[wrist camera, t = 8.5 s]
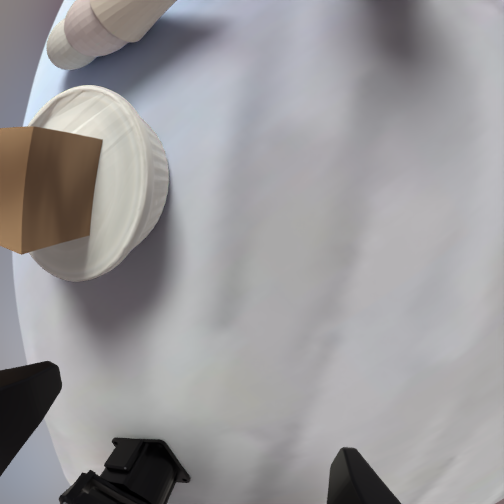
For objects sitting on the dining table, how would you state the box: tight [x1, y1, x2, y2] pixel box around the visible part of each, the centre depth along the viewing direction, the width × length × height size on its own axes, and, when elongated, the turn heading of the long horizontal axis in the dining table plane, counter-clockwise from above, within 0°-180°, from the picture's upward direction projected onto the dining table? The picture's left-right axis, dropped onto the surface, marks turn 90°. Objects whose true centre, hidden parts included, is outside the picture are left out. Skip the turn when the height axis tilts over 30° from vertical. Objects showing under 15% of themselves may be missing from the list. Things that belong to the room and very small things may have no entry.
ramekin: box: [27, 85, 169, 282], centre depth 16 cm, size 11×11×5 cm
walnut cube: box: [0, 126, 103, 255], centre depth 11 cm, size 5×5×5 cm
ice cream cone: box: [47, 0, 177, 70], centre depth 13 cm, size 6×6×15 cm
